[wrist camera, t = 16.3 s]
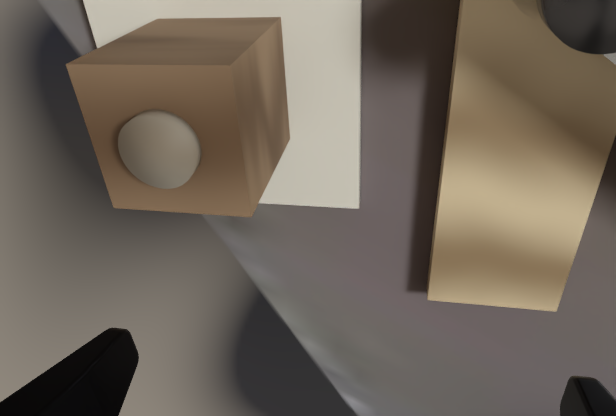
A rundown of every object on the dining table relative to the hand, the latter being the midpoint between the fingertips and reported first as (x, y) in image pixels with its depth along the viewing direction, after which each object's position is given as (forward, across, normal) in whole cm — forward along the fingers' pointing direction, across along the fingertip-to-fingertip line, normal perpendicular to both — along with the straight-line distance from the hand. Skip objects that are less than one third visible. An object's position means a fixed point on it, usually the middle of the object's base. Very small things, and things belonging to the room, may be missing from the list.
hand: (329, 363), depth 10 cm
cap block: (+12, +6, -2) cm, 13 cm away
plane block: (+13, -6, 0) cm, 14 cm away
